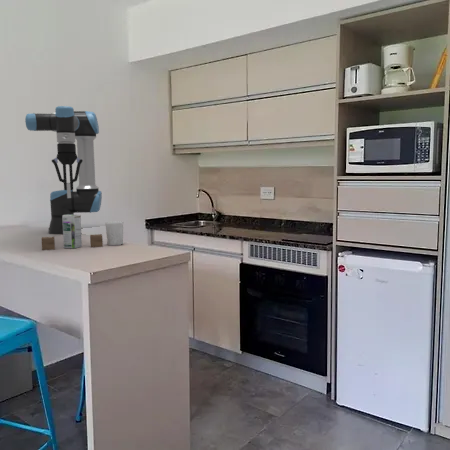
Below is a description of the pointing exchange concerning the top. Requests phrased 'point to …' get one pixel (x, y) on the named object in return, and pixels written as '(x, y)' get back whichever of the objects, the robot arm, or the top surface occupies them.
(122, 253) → the top surface
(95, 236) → the walnut block one
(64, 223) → the syrup box
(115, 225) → the white cup
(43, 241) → the walnut block seven
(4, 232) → the top surface
